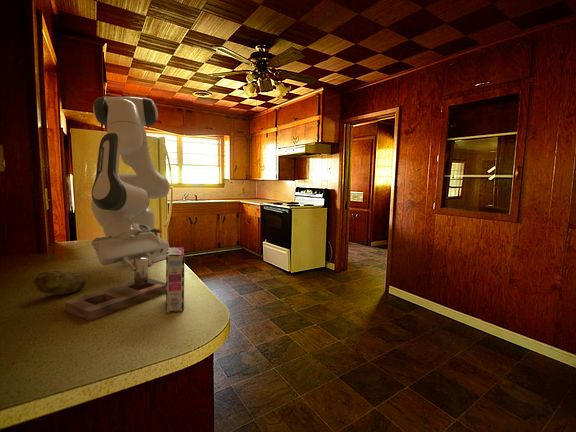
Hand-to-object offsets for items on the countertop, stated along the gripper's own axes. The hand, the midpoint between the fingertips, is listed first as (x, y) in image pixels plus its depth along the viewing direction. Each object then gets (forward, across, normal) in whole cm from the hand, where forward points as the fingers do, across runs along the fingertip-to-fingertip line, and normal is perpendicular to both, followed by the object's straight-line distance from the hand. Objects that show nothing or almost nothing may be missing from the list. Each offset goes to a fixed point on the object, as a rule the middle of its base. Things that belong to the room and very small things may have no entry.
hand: (142, 268), depth 94 cm
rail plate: (+6, -6, +6) cm, 11 cm away
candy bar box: (+17, 0, -5) cm, 18 cm away
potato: (-8, -13, +21) cm, 26 cm away
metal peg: (+3, 0, +4) cm, 5 cm away
